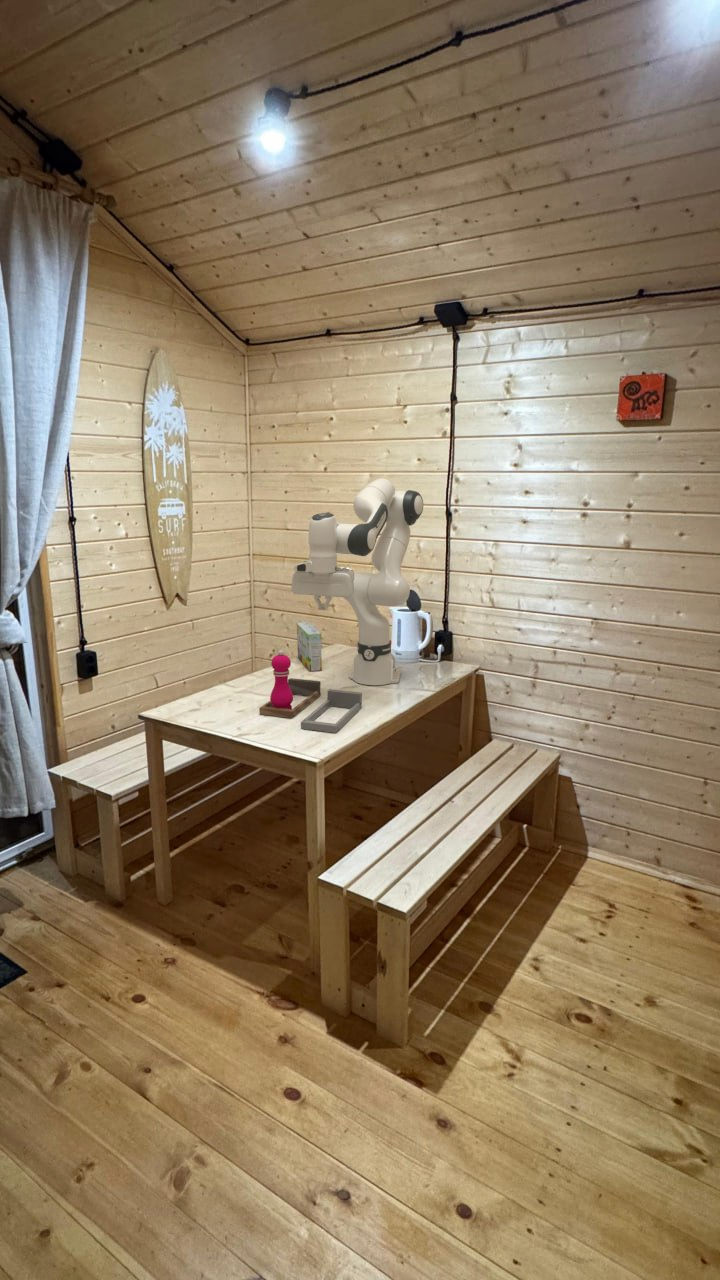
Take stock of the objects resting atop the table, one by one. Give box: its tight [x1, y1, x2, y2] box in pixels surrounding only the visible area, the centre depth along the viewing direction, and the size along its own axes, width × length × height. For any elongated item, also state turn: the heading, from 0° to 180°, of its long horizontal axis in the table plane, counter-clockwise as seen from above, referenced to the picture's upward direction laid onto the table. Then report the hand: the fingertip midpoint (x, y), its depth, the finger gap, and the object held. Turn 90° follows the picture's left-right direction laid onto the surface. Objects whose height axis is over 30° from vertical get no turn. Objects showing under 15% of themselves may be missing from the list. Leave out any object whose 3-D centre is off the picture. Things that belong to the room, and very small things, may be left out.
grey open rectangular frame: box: [300, 688, 363, 734], centre depth 212 cm, size 24×11×5 cm, turn 162°
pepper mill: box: [269, 649, 294, 710], centre depth 216 cm, size 7×7×20 cm
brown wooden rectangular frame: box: [258, 677, 322, 719], centre depth 224 cm, size 24×11×5 cm, turn 162°
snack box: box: [296, 621, 323, 673], centre depth 271 cm, size 21×6×15 cm, turn 17°
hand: (322, 609), depth 220 cm, fingers closed
